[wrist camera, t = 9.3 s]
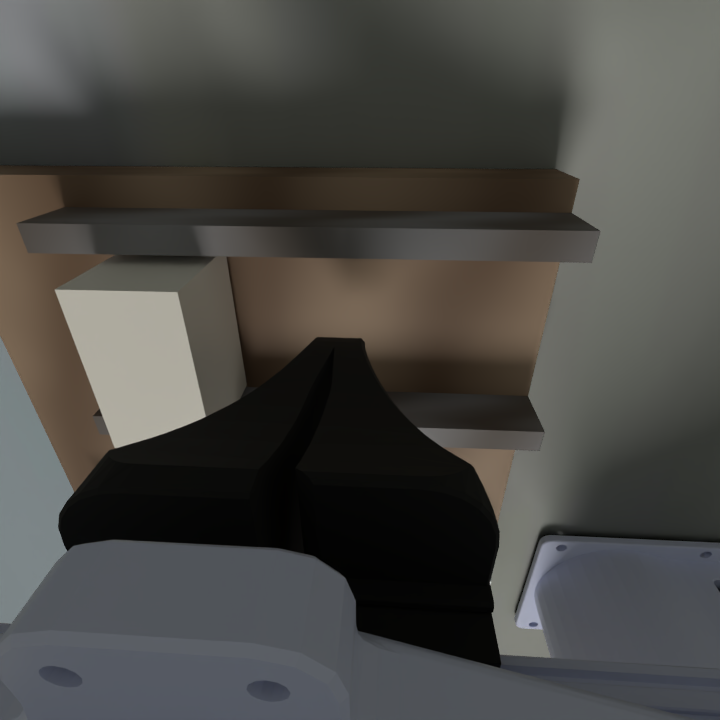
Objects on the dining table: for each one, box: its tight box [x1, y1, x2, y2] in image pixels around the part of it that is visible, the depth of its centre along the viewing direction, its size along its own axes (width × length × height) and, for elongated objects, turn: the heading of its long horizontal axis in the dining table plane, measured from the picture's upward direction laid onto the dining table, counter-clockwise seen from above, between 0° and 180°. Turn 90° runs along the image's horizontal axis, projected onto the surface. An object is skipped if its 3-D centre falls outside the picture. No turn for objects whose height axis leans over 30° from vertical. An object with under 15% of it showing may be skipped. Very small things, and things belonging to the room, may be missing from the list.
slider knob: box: [55, 255, 247, 448], centre depth 13 cm, size 3×5×4 cm, turn 0°
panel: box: [0, 165, 600, 523], centre depth 18 cm, size 19×20×4 cm
